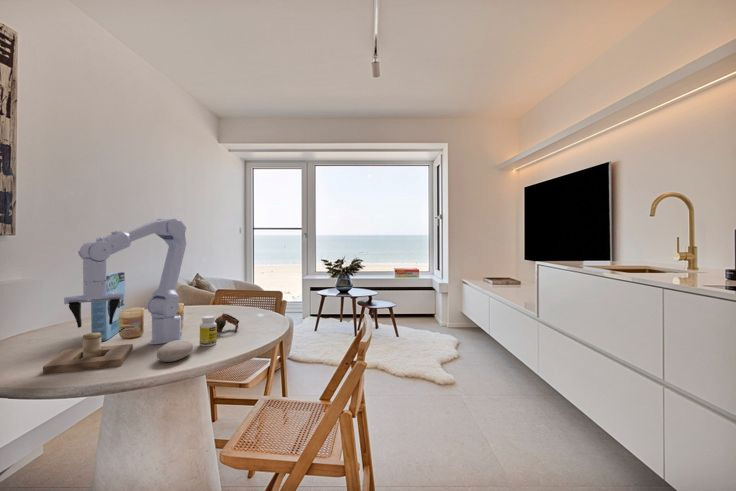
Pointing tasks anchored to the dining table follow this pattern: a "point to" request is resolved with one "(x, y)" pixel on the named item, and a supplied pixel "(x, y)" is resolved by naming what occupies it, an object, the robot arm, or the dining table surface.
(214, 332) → the supplement bottle
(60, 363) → the carrier board
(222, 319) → the brown arch
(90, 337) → the beige wooden cylinder
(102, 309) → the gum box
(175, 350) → the decorative stone
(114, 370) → the dining table surface
